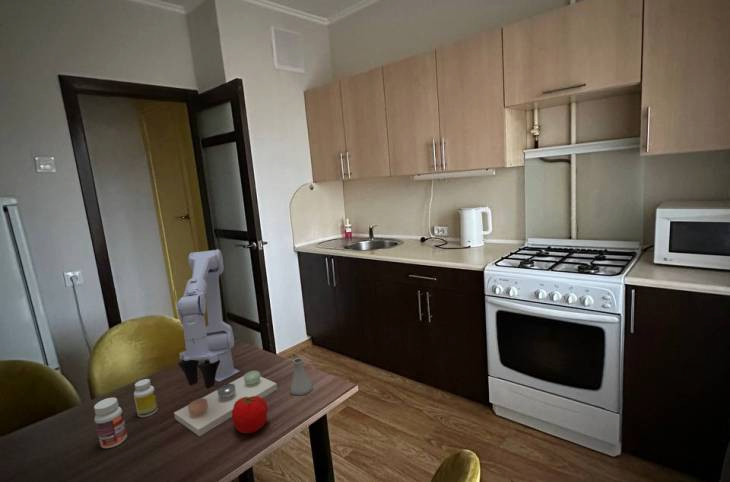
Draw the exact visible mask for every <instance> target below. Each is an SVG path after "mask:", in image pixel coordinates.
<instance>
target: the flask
mask: <svg viewBox="0 0 730 482" xmlns="http://www.w3.org/2000/svg"><path fill="white" fill-rule="evenodd" d="M303 363H304V358H303V357H296V358H294V359H293V360H292V364H293V365H294V369H293V376H292V381H291V384H290V385H291V386H290V395H294V396H302V395H307V394H309V393H310V392H311V391H312V390H313V383H312V381H311V379H310V378H309V376H308V374H307V372H306V370H305V368H304V364H303Z"/></svg>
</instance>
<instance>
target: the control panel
mask: <svg viewBox="0 0 730 482" xmlns="http://www.w3.org/2000/svg"><path fill="white" fill-rule="evenodd" d="M228 384H234V385H235V390H236V392H235V394H234V395H232V396H230V397H228V398H219V397H218V391H217V390H218V389H216V390H215V391H212V392H210V393H209V394H207V395H204V396H203V397H202V398H204V399H206V400H207V403H208V408H207V409H206V410H205V411H204V412H202V413H199V414H195V415H193V414H190V413H189V409H188V405H186V406H184V407H182V408H179V409H178V410H176V411H174V412H173V414H174V419H175V420H176V421H177V422H178V423H180V424H181V425H183V426H184V427H186V428H187V429H189V431H191V432H192V433H194V434H195V435H197V436H198V437H201V436H203V435H205V434H206V433H208V432H209V431H212V430H213V429H214V428H217V426H219V425H222V423H224V422H226V421H227V420H230V418H231V419H232V410H233V407H234V404H235V402H236V401H237V400H239V399H241V397H242V398H243V397H252V396H259V397H260V398H262V399H264V398H265V397H267V396H268V395H270V394H272V393H273V392H275V391H277V390H278V384H277V382H274V381H272V380H269V379H268V378H265V377H264V376H261V375H260V380H259V381H257V382H255V383H252V384H246V383H245V382H244V375H243V376H241V377H239V378H236V379H235V380H233V381H231V382H229V383H228Z"/></svg>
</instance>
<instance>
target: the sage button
mask: <svg viewBox="0 0 730 482" xmlns="http://www.w3.org/2000/svg"><path fill="white" fill-rule="evenodd" d="M243 376H244V382H245V383H246V384H252V383H255V382H257V381H259V380H260V376H261V372H260V371H258V370H251V371H248V372H246V373H245V374H243Z"/></svg>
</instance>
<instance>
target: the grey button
mask: <svg viewBox="0 0 730 482" xmlns="http://www.w3.org/2000/svg"><path fill="white" fill-rule="evenodd" d="M216 390H217V391H218V397H219V398H228V397H230V396H232V395H234V394H235V392H236V390H235V385H234V384H229V383H225V384H223V385H221V386H219V387H218V388H217V389H216Z"/></svg>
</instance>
